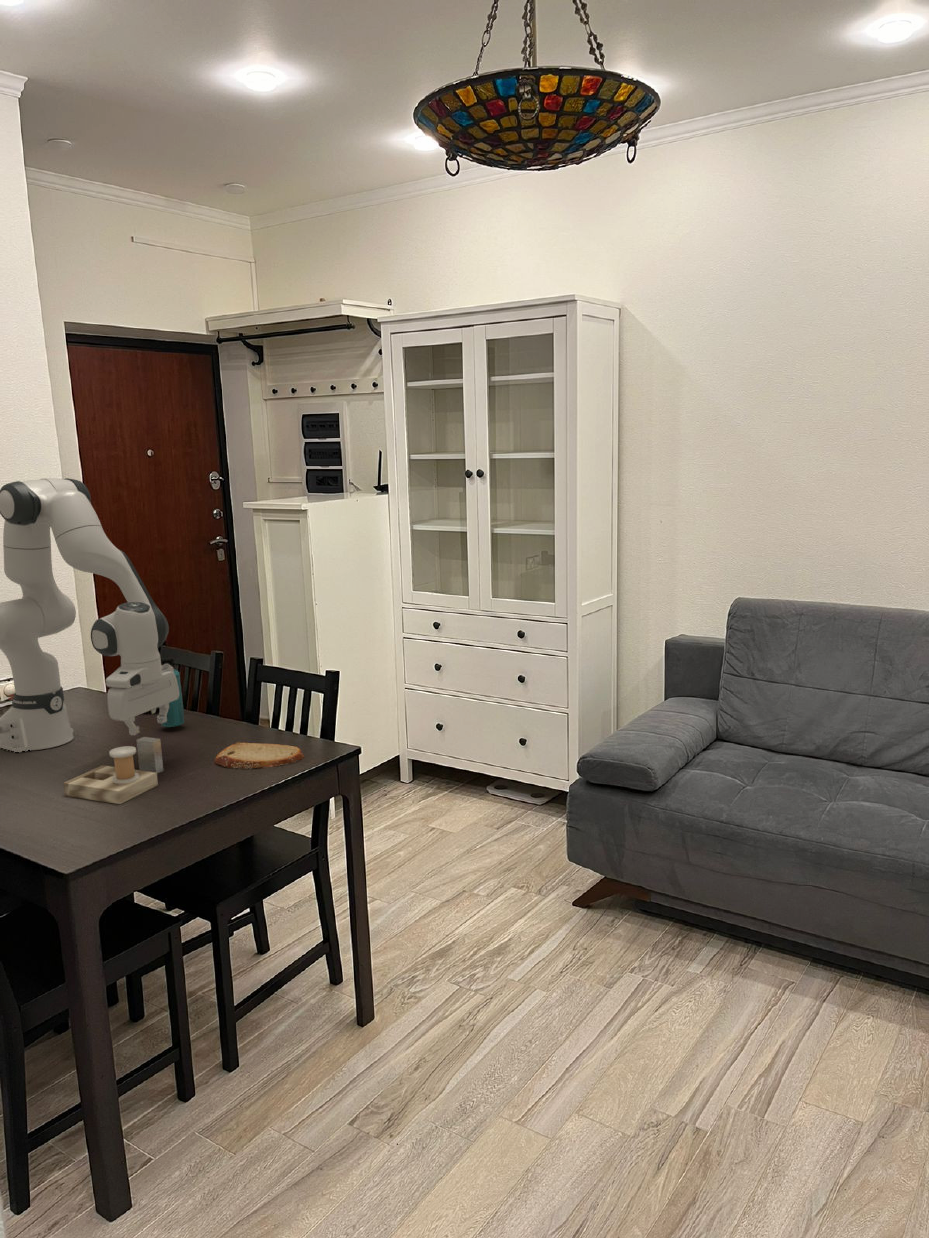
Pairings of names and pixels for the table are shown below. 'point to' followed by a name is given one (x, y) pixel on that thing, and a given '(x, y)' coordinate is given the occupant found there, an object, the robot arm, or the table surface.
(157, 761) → the metal tab
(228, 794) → the table surface
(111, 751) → the bobbin
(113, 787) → the slot board
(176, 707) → the beverage bottle
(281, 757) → the slice of bread
